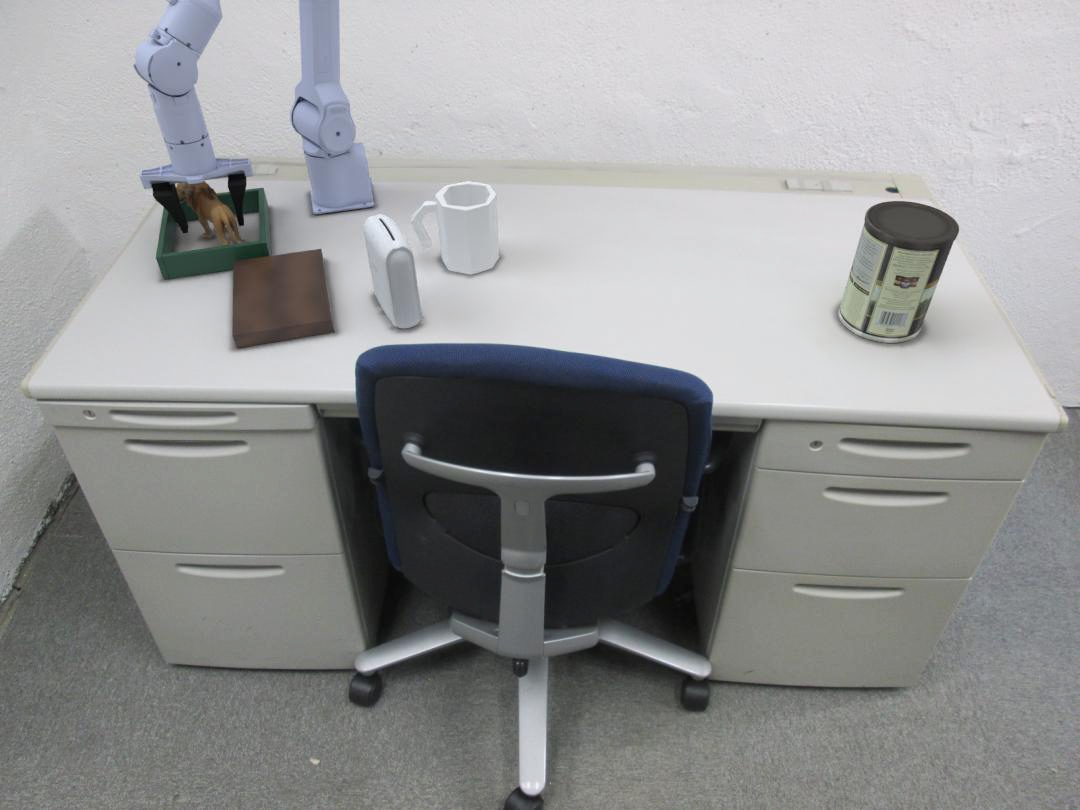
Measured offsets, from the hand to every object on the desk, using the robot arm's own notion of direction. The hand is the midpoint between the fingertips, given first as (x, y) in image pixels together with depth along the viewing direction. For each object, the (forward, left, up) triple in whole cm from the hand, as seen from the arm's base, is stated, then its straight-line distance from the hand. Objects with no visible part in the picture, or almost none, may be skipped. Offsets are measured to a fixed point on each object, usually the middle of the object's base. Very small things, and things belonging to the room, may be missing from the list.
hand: (213, 226), depth 115 cm
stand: (-9, +19, -3) cm, 21 cm away
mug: (-33, +15, -3) cm, 37 cm away
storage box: (0, 0, -3) cm, 3 cm away
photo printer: (-23, +25, -3) cm, 34 cm away
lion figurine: (0, 0, -3) cm, 3 cm away
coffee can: (-82, +45, -3) cm, 94 cm away
